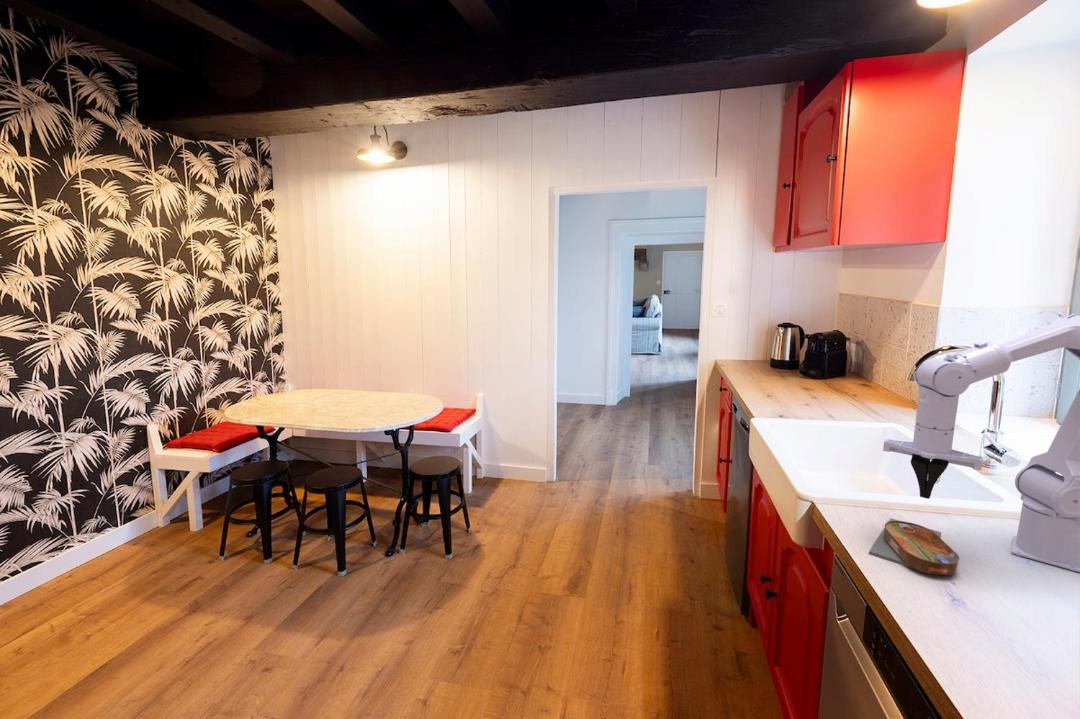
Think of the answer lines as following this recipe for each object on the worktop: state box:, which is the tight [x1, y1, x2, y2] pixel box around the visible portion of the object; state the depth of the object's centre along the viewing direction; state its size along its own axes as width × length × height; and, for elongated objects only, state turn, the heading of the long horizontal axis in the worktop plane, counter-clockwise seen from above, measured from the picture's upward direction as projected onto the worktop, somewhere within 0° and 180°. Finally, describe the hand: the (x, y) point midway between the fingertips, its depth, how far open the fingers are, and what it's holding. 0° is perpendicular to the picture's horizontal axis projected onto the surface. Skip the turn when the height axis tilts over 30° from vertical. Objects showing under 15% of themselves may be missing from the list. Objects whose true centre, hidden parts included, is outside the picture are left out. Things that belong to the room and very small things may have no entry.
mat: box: [868, 517, 942, 569], centre depth 102 cm, size 8×18×1 cm, turn 136°
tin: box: [884, 520, 960, 576], centre depth 97 cm, size 15×3×8 cm
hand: (925, 496), depth 98 cm, fingers closed
